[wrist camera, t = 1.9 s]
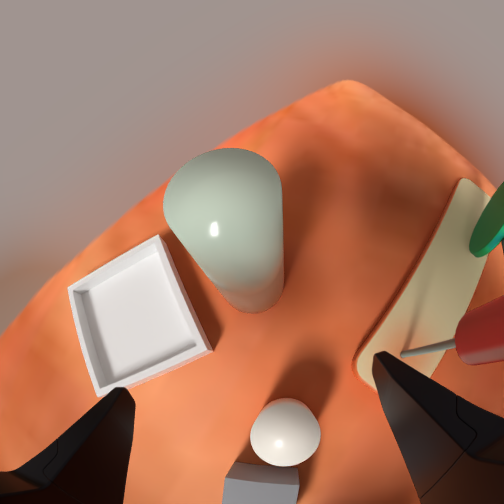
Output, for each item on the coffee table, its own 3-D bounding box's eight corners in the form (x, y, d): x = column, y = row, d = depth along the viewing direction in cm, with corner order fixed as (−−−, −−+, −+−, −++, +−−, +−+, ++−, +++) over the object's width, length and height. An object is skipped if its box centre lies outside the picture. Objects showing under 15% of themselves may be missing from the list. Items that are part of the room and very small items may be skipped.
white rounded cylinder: (320, 403, 19) (328, 412, 15) (304, 453, 18) (308, 471, 14) (265, 391, 20) (261, 397, 16) (250, 441, 19) (242, 457, 14)
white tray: (213, 351, 22) (207, 349, 20) (110, 396, 21) (97, 397, 19) (166, 243, 26) (158, 234, 24) (79, 293, 25) (67, 287, 23)
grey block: (297, 467, 17) (299, 485, 14) (288, 513, 15) (288, 535, 12) (234, 461, 18) (225, 477, 14) (229, 507, 16) (219, 527, 12)
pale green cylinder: (290, 261, 24) (292, 156, 12) (275, 320, 22) (264, 260, 10) (232, 248, 25) (189, 144, 13) (214, 304, 23) (145, 234, 12)
